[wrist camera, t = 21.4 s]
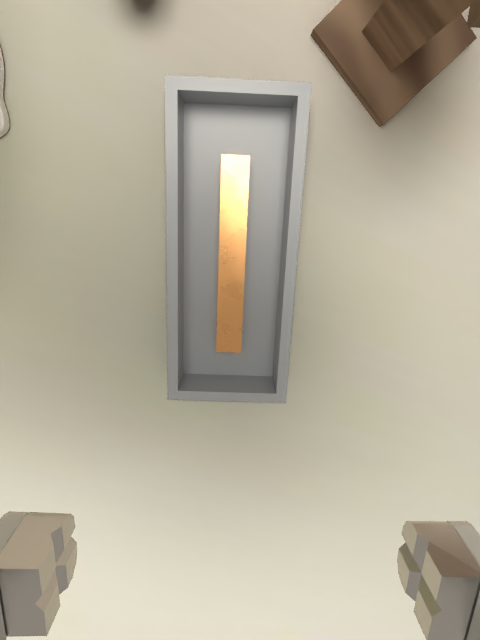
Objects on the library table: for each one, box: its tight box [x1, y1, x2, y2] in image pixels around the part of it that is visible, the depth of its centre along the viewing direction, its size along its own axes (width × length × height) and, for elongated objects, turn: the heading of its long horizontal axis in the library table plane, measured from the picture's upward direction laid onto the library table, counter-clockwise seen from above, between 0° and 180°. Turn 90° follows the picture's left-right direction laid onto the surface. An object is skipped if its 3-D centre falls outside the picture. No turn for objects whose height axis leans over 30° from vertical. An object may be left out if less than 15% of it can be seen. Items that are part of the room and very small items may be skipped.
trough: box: [165, 75, 312, 403], centre depth 46 cm, size 34×14×6 cm, turn 178°
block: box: [216, 154, 250, 353], centre depth 46 cm, size 22×3×3 cm, turn 178°
